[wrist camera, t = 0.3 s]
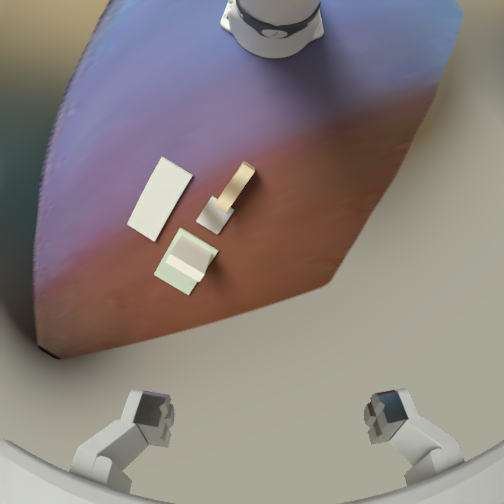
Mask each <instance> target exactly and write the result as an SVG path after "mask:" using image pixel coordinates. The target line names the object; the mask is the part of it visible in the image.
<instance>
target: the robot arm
mask: <svg viewBox="0 0 504 504" xmlns="http://www.w3.org/2000/svg"><path fill="white" fill-rule="evenodd" d="M320 1H321V0H229V1H228V4H227V6H226V9H225V11H224V14H223V16H222V19H221V27H222V28H223V29H225V30H226V31H228V32H230V33H232V34H233V35H234V37H235V38H236V39H237V41H238V42H239V43H240V45H241V46H242V47H244V48H245V49H246V50H248V51H249V52H251V53H253V54H255V55H258V56H261V57H266V58H284V57H288V56H291V55H293V54H295V53H297V52H299V51H300V50H302V49H303V48H304V47H305V46H306V45H307V44H308V43H309V42H310V41H313V40H315V39H318V38H320V37H322V36H323V33H324V29H323V24H322V18H321V14H320V10H319V8H320ZM227 18H229V19H227ZM370 399H371V402H370V403H368V404H367V405H366V407H365V410H364V420H365V423H366V425H368V426H369V427H370V429H369V431H368V433H369V437H370V441H371V444H376V443H381V442H386V441H389V443H390V444H391V445H392V446H393V447H394V448H395V449H396V450H397V451H398V452H399V453H400V454H401V455H402V456H403V457H404V458H405V459H406V460H407V461H408V462H409V463H410V464H411V465H412V466H413V467H412V468H411V469H410V470H409V471H407V472H406V474H405V479H406V483H407V487H404V488H401V489H398V490H394V491H391V492H387V493H384V494H380V495H377V496H373V497H369V498H364V499H360V500H355V501H351V502H345V503H340V504H504V440H503V441H501V442H500V443H499V444H497V445H495V446H493V447H492V448H490V449H488V450H487V451H485V452H483V453H482V454H480V455H478V456H476V457H474V458H473V459H470V460H468V461H466V462H465V461H464V458H463V456H462V453H461V451H460V448H459V446H458V443H457V441H456V440H455V439H453V438H452V437H451V436H449V435H448V434H446V433H445V432H443V431H442V430H440V429H439V428H438V427H436V426H435V425H434V424H432V423H431V422H429V421H428V420H426V419H425V418H424V417H422V416H420V417H419V415H418V413H417V411H416V408H415V406H414V404H413V401H412V399H411V397H410V395H409V393H408V390H407V389H405V388H403V389H398V390H391V391H386V392H381V393H375V394H373V395H372V397H371V398H370ZM170 401H171V398H170V396H169V395H168V394H161V393H154V392H148V391H144V390H138V389H132V391H131V392H130V394H129V397H128V400H127V402H126V405H125V408H124V411H123V413H122V416H121V419H120V420H115V421H114V422H113V423H111V424H110V425H109V426H107V427H106V428H104V429H103V430H102V431H100V432H99V433H98V434H96V435H95V436H93V437H92V438H90V439H89V440H88V441H86V442H85V443H84V444H82V445H81V446H79V447H78V449H77V452H76V455H75V458H74V460H73V463H72V465H71V468H70V471H69V472H67V471H65V470H63V469H61V468H59V467H57V466H54V465H52V464H50V463H48V462H46V461H44V460H43V459H41V458H38V457H37V456H35V455H33V454H31V453H30V452H28V451H26V450H24V449H23V448H21V447H19V446H17V445H16V444H14V443H13V442H11V441H8V440H3V441H0V504H174V503H168V502H163V501H158V500H154V499H149V498H144V497H141V496H137V495H133V494H129V491H130V487H131V483H132V481H131V479H130V478H129V477H128V476H127V475H126V474H125V473H124V472H123V471H122V470H124V469H125V468H126V467H127V466H128V465H129V464H130V463H131V462H132V461H133V460H134V459H135V458H136V457H137V456H138V455H139V454H140V453H141V452H142V451H143V450H144V449H145V448H146V447H147V446H148V444H150V445H155V446H162V447H168V445H169V441H170V436H171V433H170V431H169V428H170V427H172V426H173V422H174V407H173V405H172V404H170Z"/></svg>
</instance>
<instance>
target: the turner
mask: <svg viewBox="0 0 504 504" xmlns="http://www.w3.org/2000/svg"><path fill="white" fill-rule="evenodd" d="M254 172H255V168H254V167H253V166H251V165H250V164H248V163H247V162H245V161H244V162H243V163H242V164H241V166H240V167H239V169H238V170H237V172H236V173H235V175H234V176H233V178H232V179H231V181H230V182H229V184H228V185H227V186H226V188H225V189H224V191H223V192H222V194H221V195H220V197H219V199H217V198H216V197H214V196H212V197H211V198H210V200H209V201H208V203H207V205H206V206H205V208H204V209H203V211H202V212H201V214H200V216H199V217H198V219H197V220H196V222H198V223H199V224H201V225H203V226H204V227H206V228H207V229H209V230H211V231H212V232H214V233H215V234H217V235H218V233H219V232H220V230H221V229H222V227H223V226H224V225H225V223H226V222H227V220H228V219H229V217H230V216H231V214H232V213H233V211H234V209H233V208H231V205H232V204H233V202H234V201H235V199H236V198H237V197H238V195H239V194H240V192H241V191H242V189H243V188H244V186H245V185H246V184H247V182H248V181H249V179H250V178H251V176H252V175H253V174H254Z"/></svg>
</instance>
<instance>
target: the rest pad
mask: <svg viewBox="0 0 504 504" xmlns="http://www.w3.org/2000/svg"><path fill="white" fill-rule="evenodd" d="M192 176H193V175H192V174H190V173H189V172H187V171H186V170H184V169H182V168H181V167H179V166H177V165H176V164H174V163H173V162H171V161H169V160H168V159H166V158H164V157H161V159H160V161H159V163H158V164H157V166H156V168H155V170H154V172H153V174H152V175H151V177H150V179H149V181H148V183H147V185H146V187H145V189H144V191H143V193H142V195H141V197H140V199H139V201H138V203H137V205H136V207H135V209H134V211H133V213H132V215H131V217H130V219H129V221H128V224H127V225H129V226H131V227H132V228H134V229H135V230H137V231H138V232H140V233H142V234H143V235H145V236H146V237H148V238H150V239H151V240H153V241H154V242H155V241H156V239H157V237H158V235H159V233H160V231H161V230H162V228H163V226H164V224H165V222H166V220H167V219H168V217H169V215H170V213H171V212H172V210H173V208H174V206H175V205H176V203H177V201H178V199H179V198H180V196H181V194H182V193H183V191H184V189H185V188H186V186H187V184H188V183H189V181H190V179H191V178H192Z"/></svg>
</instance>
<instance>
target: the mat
mask: <svg viewBox="0 0 504 504" xmlns="http://www.w3.org/2000/svg"><path fill="white" fill-rule="evenodd" d="M181 235H184V236H185V237H187V238H189V239H190V240H192V241H194V242H195V243H197V244H199V245H200V246H202V247H203V248H205V249H207V250H208V251H210V252H212V253H211V256H210V259H209V262H208V265H207V267H208V266H209V264H210V263H211V261H212V260H213V258H214V257H215V255H216V254H217V252H218V251H219V250H217V249H215V248H214V247H212V246H210V245H209V244H207V243H206V242H204V241H202V240H201V239H199V238H197V237H196V236H194V235H192V234H191V233H189V232H188V231H186V230H184V229H183V228H180V229H179V231H178V233H177V234H176V236H175V238H174V239H173V241H172V243H171V245H170V246H169V248H168V250H167V252H166V253H165V255H164V257H163V259H162V261H161V262H160V264H159V266H158V268H157V270H156V271H155V273H154V275H155V276H157V277H158V278H160V279H162V280H164V281H165V282H167V283H169V284H170V285H172V286H174V287H175V288H177V289H179V290H181V291H182V292H184V293H186V294H187V295H189V294H190V292H191V291H192V289H193V288H194V286H195V285H196V283H197V282H198V281H196V280H194V279H193V278H191V277H189V276H188V275H186V274H184V273H182V272H181V271H179V270H177V269H176V268H174V267H172V266H171V265H169V264H167V263H166V260H167V258H168V257H169V255H170V253H171V252H172V250H173V248H174V247H175V245H176V243H177V242H178V240H179V239H180V237H181Z"/></svg>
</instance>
